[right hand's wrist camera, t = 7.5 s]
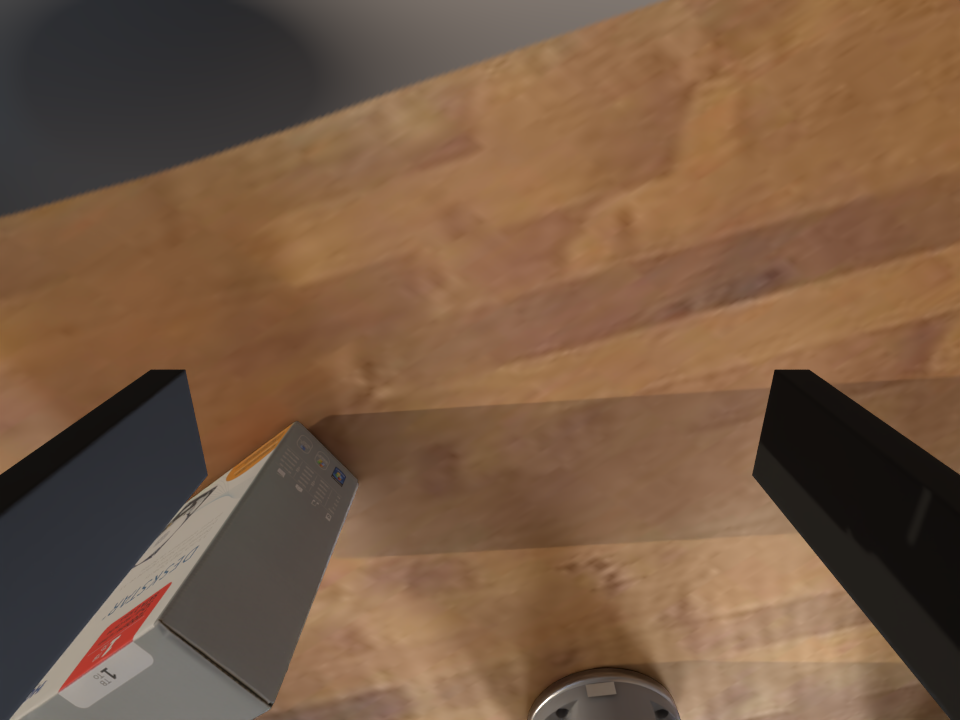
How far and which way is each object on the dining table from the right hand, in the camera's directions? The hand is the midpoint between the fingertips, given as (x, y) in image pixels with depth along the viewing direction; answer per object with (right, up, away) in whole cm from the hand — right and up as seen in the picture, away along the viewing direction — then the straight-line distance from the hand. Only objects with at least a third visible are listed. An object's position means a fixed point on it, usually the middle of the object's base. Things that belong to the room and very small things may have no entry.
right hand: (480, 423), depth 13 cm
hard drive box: (-18, -10, +34) cm, 40 cm away
